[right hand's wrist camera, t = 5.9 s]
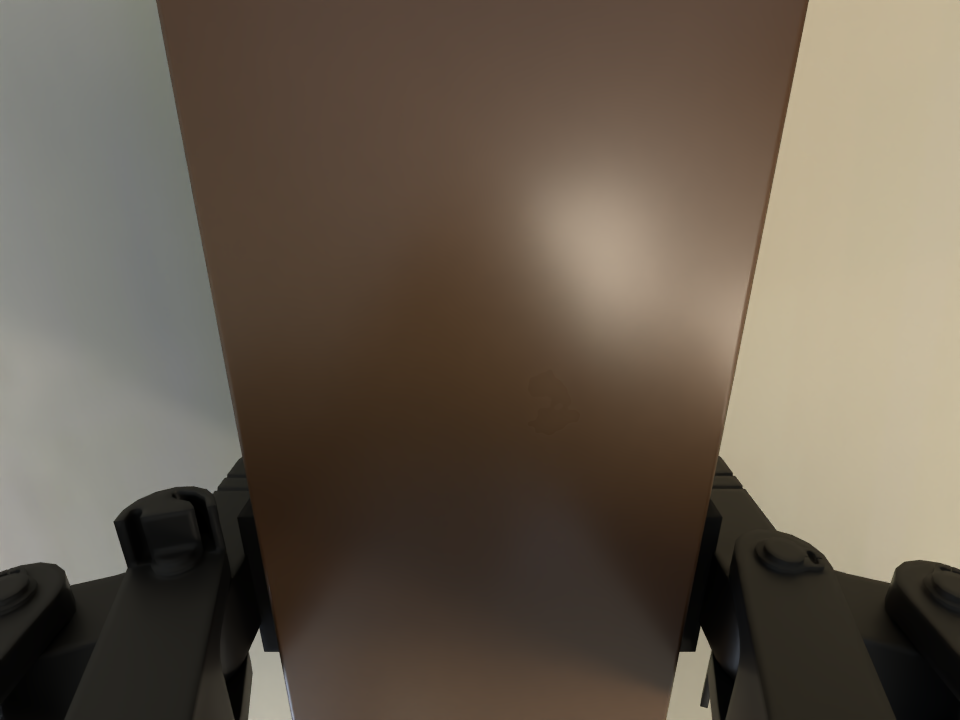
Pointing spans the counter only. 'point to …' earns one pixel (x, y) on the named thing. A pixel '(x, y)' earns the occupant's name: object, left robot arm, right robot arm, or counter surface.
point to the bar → (480, 327)
